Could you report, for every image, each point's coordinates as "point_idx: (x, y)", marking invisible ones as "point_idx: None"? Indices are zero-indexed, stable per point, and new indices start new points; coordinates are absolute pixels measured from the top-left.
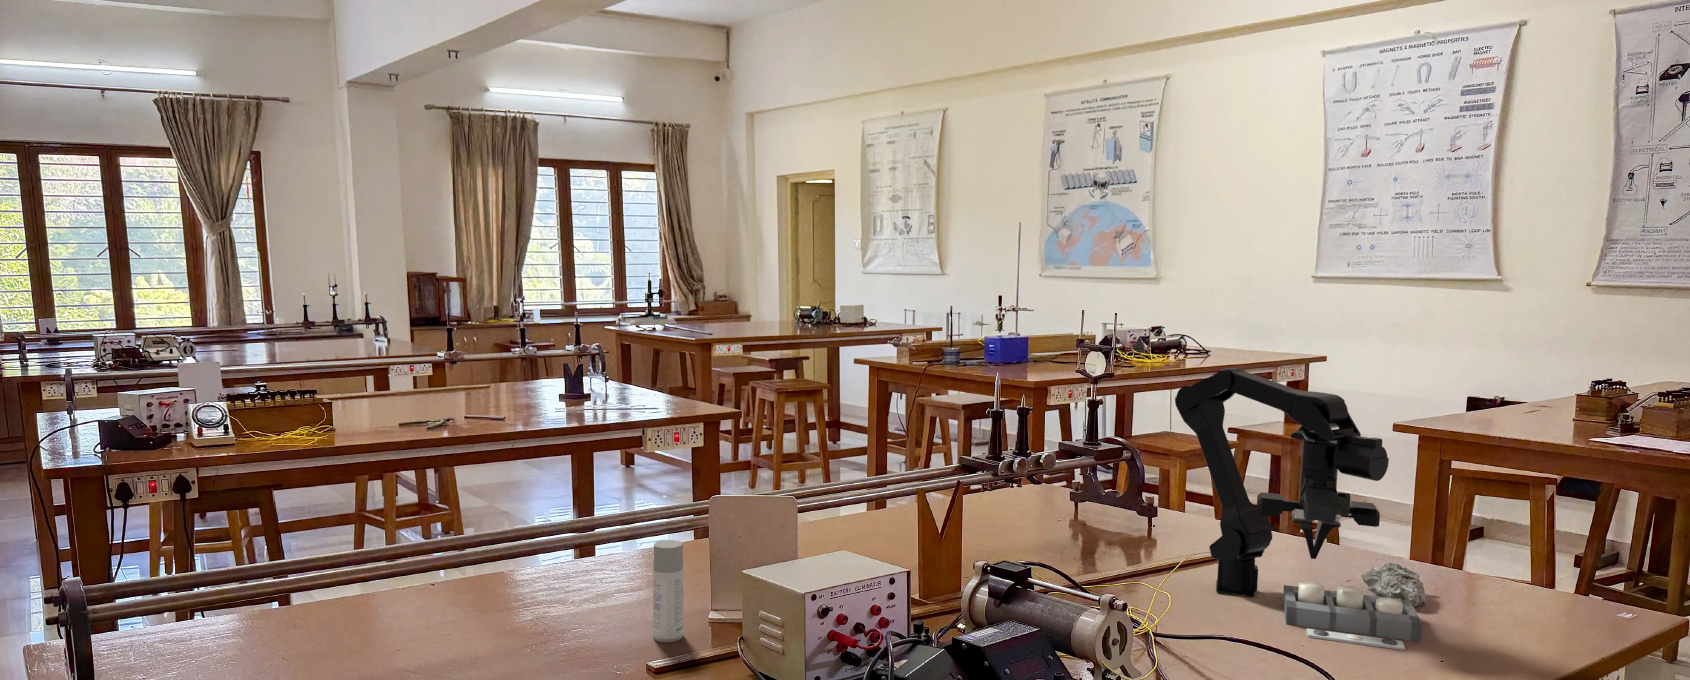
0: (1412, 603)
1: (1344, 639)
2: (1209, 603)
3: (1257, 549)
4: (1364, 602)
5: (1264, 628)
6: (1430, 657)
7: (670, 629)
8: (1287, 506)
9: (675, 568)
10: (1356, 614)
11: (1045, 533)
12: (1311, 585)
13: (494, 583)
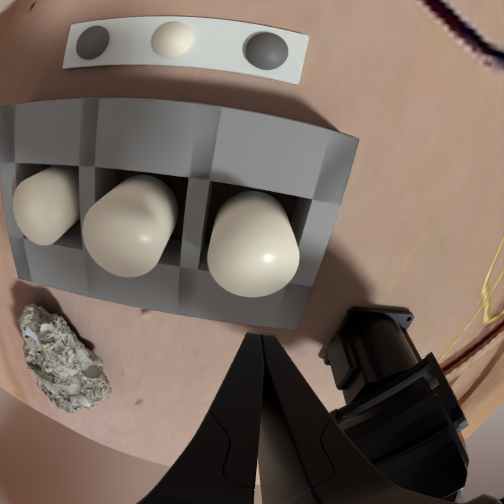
0: (33, 304)
1: (208, 19)
2: (452, 250)
3: (380, 406)
4: None
5: (403, 95)
6: (43, 12)
7: None
8: None
9: None
10: (135, 109)
11: (465, 417)
12: (255, 254)
13: None
